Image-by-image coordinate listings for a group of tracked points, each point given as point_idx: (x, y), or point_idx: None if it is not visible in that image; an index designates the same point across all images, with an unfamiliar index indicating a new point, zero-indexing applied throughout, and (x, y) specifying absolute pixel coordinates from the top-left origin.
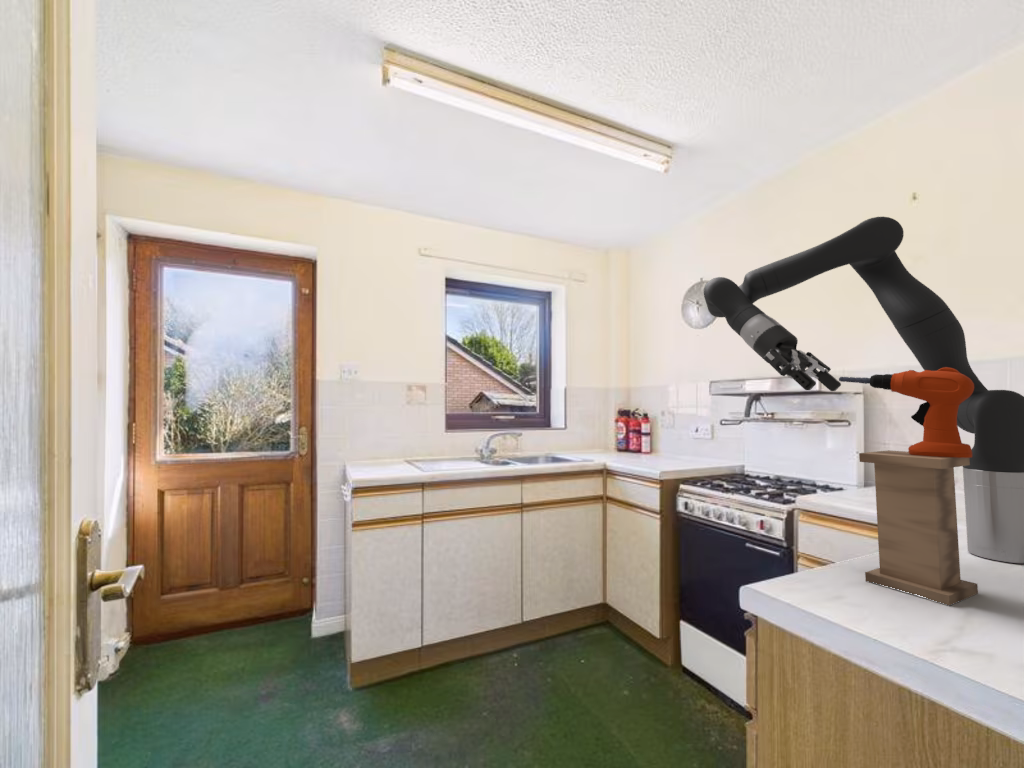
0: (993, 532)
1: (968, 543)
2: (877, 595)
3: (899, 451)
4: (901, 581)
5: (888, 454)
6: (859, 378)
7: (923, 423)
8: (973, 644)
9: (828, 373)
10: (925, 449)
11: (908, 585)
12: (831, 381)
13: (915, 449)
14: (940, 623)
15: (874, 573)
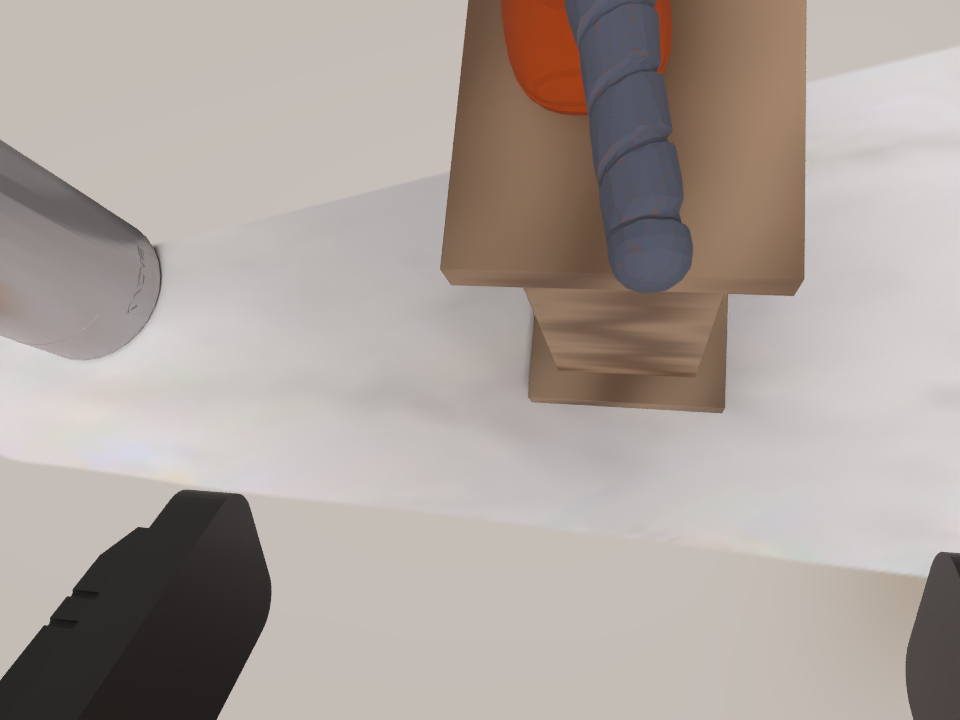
0: (108, 251)
1: (99, 342)
2: (822, 343)
3: (471, 206)
4: (717, 313)
5: (744, 154)
6: (653, 19)
7: None
8: (953, 108)
9: (41, 705)
10: (667, 3)
11: (726, 294)
12: (190, 615)
13: (664, 47)
14: (885, 185)
15: (709, 387)
